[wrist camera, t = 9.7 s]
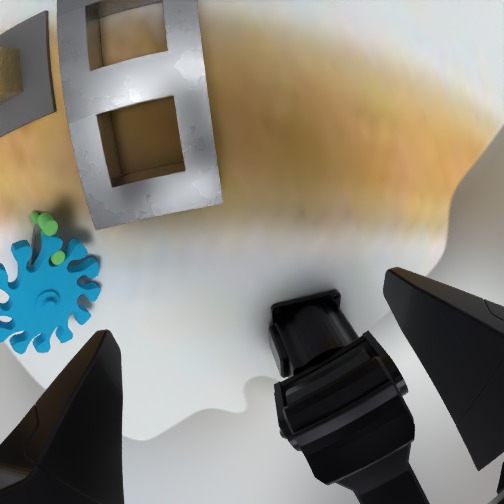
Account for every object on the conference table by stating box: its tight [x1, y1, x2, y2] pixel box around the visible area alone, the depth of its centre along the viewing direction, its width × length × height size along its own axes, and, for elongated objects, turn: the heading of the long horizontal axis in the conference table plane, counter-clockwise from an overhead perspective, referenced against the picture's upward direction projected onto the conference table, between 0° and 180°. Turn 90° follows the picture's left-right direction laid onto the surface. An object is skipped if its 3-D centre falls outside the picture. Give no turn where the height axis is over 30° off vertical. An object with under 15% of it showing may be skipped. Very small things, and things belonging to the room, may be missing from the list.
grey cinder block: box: [57, 0, 223, 230], centre depth 14 cm, size 8×16×3 cm, turn 6°
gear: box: [0, 211, 101, 354], centre depth 17 cm, size 11×6×10 cm
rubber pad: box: [0, 10, 56, 137], centre depth 12 cm, size 8×8×1 cm
